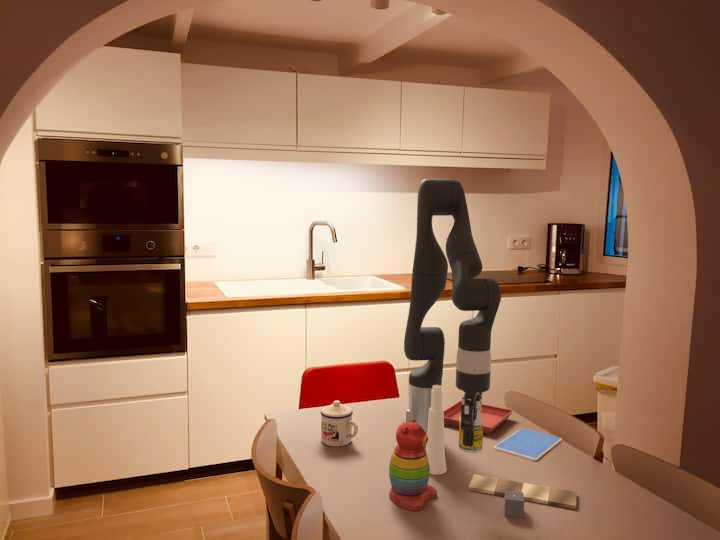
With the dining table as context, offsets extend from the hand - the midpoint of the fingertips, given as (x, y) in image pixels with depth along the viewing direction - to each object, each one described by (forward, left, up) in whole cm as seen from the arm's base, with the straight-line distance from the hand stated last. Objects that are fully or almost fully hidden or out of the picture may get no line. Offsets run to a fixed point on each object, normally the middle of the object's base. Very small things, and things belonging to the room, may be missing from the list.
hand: (470, 439), depth 132 cm
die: (+10, -1, -15) cm, 18 cm away
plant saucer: (-7, +51, -15) cm, 53 cm away
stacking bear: (-13, -3, -15) cm, 20 cm away
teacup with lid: (-40, +20, -15) cm, 47 cm away
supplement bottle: (0, 0, -2) cm, 2 cm away
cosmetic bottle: (-11, +13, -15) cm, 22 cm away
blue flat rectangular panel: (+10, +39, -15) cm, 43 cm away
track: (+11, +9, -15) cm, 20 cm away
